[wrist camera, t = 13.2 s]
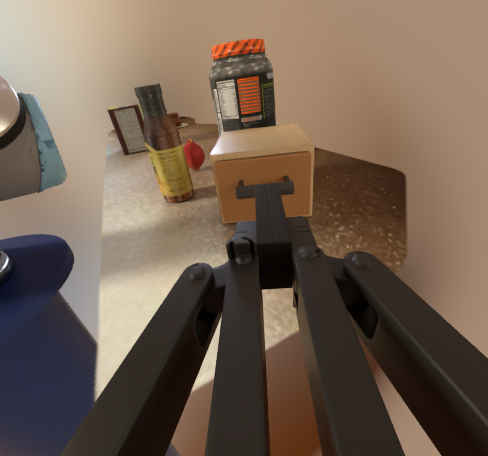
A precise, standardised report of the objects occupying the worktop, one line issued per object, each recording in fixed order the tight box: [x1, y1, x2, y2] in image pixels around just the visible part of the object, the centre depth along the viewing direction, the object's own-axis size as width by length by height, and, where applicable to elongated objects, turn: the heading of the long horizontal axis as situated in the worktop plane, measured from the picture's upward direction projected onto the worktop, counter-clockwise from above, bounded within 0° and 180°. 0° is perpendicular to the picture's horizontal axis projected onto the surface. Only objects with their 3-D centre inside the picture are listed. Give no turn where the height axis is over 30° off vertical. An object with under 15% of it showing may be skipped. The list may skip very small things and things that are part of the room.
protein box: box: [108, 103, 147, 155], centre depth 92 cm, size 10×15×16 cm
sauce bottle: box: [134, 83, 194, 202], centre depth 43 cm, size 7×6×20 cm
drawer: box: [214, 152, 311, 222], centre depth 38 cm, size 19×13×9 cm, turn 178°
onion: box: [183, 139, 205, 170], centre depth 61 cm, size 6×6×8 cm
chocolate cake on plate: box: [167, 113, 189, 128], centre depth 136 cm, size 18×18×7 cm
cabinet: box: [210, 124, 314, 224], centre depth 41 cm, size 16×14×11 cm
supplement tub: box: [209, 39, 276, 137], centre depth 63 cm, size 16×16×26 cm
